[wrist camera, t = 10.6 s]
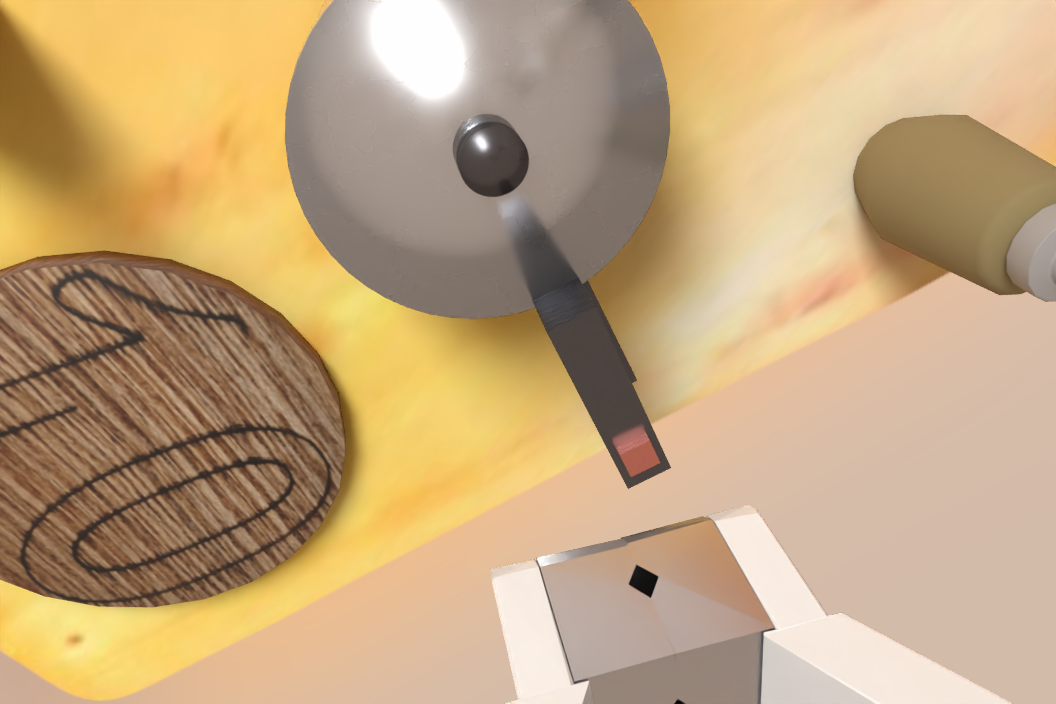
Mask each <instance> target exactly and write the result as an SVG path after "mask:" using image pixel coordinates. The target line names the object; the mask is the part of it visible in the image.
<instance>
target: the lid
mask: <svg viewBox="0 0 1056 704" xmlns="http://www.w3.org/2000/svg"><path fill="white" fill-rule="evenodd" d="M669 133H670V105H669V98H668V90H667V82H666V78H665V75H664V71H663V67H662V63H661V60H660V57H659V54H658V52H657V49H656V47H655V44H654V42H653V40H652V37H651V35H650V33H649V31H648V30H647V28H646V26H645V24H644V23H643V21H642V19H641V18H640V16H639V14H638V12H637V11H636V10H635V9H634V7H633V6H632V5H631V4H630V2H629V1H628V0H330V1H329V2H328V4H327V5H326V6H325V7H324V9H323V10H322V12H321V14H320V15H319V17H318V18H317V20H316V21H315V23H314V24H313V26H312V27H311V29H310V31H309V33H308V36H307V38H306V40H305V42H304V44H303V46H302V48H301V51H300V53H299V56H298V59H297V62H296V65H295V69H294V72H293V75H292V79H291V83H290V89H289V95H288V102H287V108H286V121H285V143H286V152H287V160H288V167H289V171H290V175H291V179H292V183H293V187H294V190H295V193H296V196H297V198H298V200H299V203H300V205H301V208H302V210H303V213H304V215H305V217H306V218H307V220H308V222H309V224H310V225H311V227H312V229H313V231H314V232H315V234H316V236H317V237H318V238H319V240H320V241H321V242H322V244H323V245H324V246H325V248H326V249H327V250H328V252H329V253H330V254H331V255H332V256H333V257H334V258H335V259H336V260H337V261H338V262H339V263H340V264H341V265H342V267H343V268H344V269H345V270H346V271H347V272H349V273H350V274H351V275H352V276H354V277H355V278H356V279H358V280H359V281H360V282H361V283H363V284H364V285H365V286H367V287H368V288H370V289H372V290H373V291H375V292H377V293H378V294H380V295H382V296H383V297H385V298H387V299H389V300H392V301H394V302H396V303H398V304H401V305H403V306H405V307H408V308H411V309H414V310H418V311H421V312H425V313H428V314H433V315H439V316H445V317H451V318H469V319H477V318H492V317H500V316H505V315H511V314H516V313H520V312H523V311H527V310H530V309H533V308H536V310H537V312H538V314H539V316H540V318H541V320H542V323H543V325H544V327H545V329H546V331H547V333H548V335H549V337H550V339H551V341H552V343H553V345H554V347H555V349H556V351H557V353H558V355H559V356H560V358H561V360H562V362H563V364H564V366H565V368H566V370H567V372H568V374H569V376H570V378H571V380H572V382H573V383H574V385H575V387H576V389H577V391H578V393H579V395H580V397H581V399H582V401H583V403H584V405H585V407H586V409H587V410H588V412H589V414H590V416H591V418H592V420H593V422H594V424H595V426H596V428H597V430H598V432H599V434H600V436H601V437H602V439H603V441H604V443H605V445H606V447H607V449H608V451H609V453H610V455H611V457H612V459H613V461H614V463H615V464H616V466H617V468H618V470H619V472H620V474H621V476H622V478H623V480H624V482H625V484H626V486H627V488H628V489H629V488H631V487H633V486H635V485H637V484H639V483H641V482H643V481H645V480H647V479H649V478H651V477H653V476H655V475H657V474H659V473H661V472H663V471H665V470H667V469H670V468H671V467H670V465H669V462H668V460H667V458H666V456H665V454H664V452H663V450H662V447H661V445H660V443H659V441H658V439H657V437H656V434H655V432H654V430H653V428H652V426H651V424H650V421H649V419H648V417H647V415H646V413H645V411H644V409H643V406H642V404H641V402H640V400H639V398H638V396H637V393H636V391H635V389H634V387H633V385H632V383H631V381H630V378H629V376H628V374H627V372H626V370H625V368H624V365H623V363H622V361H621V359H620V357H619V355H618V353H617V350H616V348H615V346H614V344H613V342H612V340H611V337H610V335H609V333H608V331H607V329H606V327H605V325H604V322H603V320H602V318H601V316H600V314H599V312H598V309H597V307H596V306H595V304H594V302H593V301H592V299H591V297H590V296H589V294H588V292H587V291H586V289H585V287H584V286H583V283H585V282H586V281H587V280H589V279H590V278H591V277H593V276H594V275H595V274H597V273H598V272H599V271H600V270H601V269H602V268H603V267H604V266H606V265H607V264H608V263H609V262H610V261H611V260H612V259H613V258H614V257H615V256H616V255H617V254H618V252H619V251H620V250H621V249H622V248H623V247H624V245H625V244H626V243H627V242H628V241H629V239H630V238H631V236H632V235H633V233H634V232H635V231H636V229H637V228H638V226H639V225H640V223H641V222H642V220H643V218H644V216H645V214H646V212H647V210H648V208H649V206H650V205H651V203H652V201H653V198H654V196H655V193H656V190H657V188H658V185H659V182H660V180H661V176H662V172H663V168H664V164H665V160H666V156H667V149H668V141H669Z"/></svg>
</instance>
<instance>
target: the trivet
mask: <svg viewBox="0 0 1056 704" xmlns="http://www.w3.org/2000/svg"><path fill="white" fill-rule="evenodd" d="M345 451H346V442H345V430H344V424H343V418H342V412H341V406H340V400H339V394H338V392H337V390H336V388H335V386H334V384H333V382H332V380H331V378H330V376H329V374H328V372H327V370H326V368H325V366H324V364H323V362H322V361H321V359H320V357H319V355H318V353H317V351H316V350H315V349H314V348H313V347H312V346H311V345H310V344H309V343H308V342H307V341H306V339H305V338H304V337H303V336H302V335H301V334H300V333H299V332H298V331H297V330H296V329H295V328H294V327H293V326H292V325H291V323H290V322H289V321H288V320H287V319H286V318H285V317H284V316H283V315H282V314H281V313H280V312H278V311H277V310H275V309H274V308H272V307H270V306H269V305H267V304H266V303H264V302H263V301H261V300H260V299H258V298H256V297H255V296H253V295H252V294H250V293H249V292H247V291H246V290H244V289H242V288H241V287H239V286H238V285H236V284H235V283H233V282H231V281H229V280H226V279H223V278H221V277H218V276H215V275H212V274H210V273H207V272H204V271H201V270H198V269H196V268H193V267H190V266H187V265H185V264H182V263H179V262H176V261H173V260H171V259H163V258H155V257H148V256H140V255H133V254H125V253H117V252H110V251H97V252H86V253H75V254H64V255H53V256H42V257H36V258H33V259H30V260H27V261H25V262H22V263H19V264H16V265H13V266H10V267H7V268H4V269H1V270H0V580H3V581H5V582H8V583H11V584H13V585H16V586H19V587H21V588H24V589H27V590H29V591H32V592H34V593H37V594H40V595H42V596H46V597H51V598H57V599H62V600H67V601H73V602H78V603H83V604H89V605H94V606H106V607H157V606H163V605H169V604H176V603H182V602H188V601H194V600H201V599H205V598H208V597H211V596H214V595H216V594H219V593H222V592H225V591H228V590H230V589H233V588H236V587H239V586H241V585H244V584H247V583H250V582H252V581H253V580H255V579H256V578H258V577H260V576H261V575H263V574H265V573H266V572H268V571H269V570H271V569H273V568H274V567H276V566H277V565H279V564H281V563H282V562H284V561H285V560H287V559H289V558H290V557H291V556H292V555H293V554H294V553H295V552H296V551H297V550H298V549H299V548H300V547H301V546H302V545H303V544H304V543H305V542H306V540H307V539H308V538H309V537H310V536H311V535H312V534H313V533H314V532H315V531H316V530H317V529H318V528H319V527H320V525H321V523H322V521H323V520H324V518H325V516H326V514H327V512H328V510H329V508H330V506H331V504H332V503H333V501H334V499H335V497H336V495H337V493H338V491H339V487H340V481H341V475H342V469H343V463H344V457H345Z"/></svg>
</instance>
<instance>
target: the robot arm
mask: <svg viewBox="0 0 1056 704" xmlns="http://www.w3.org/2000/svg"><path fill="white" fill-rule="evenodd" d="M491 578H492V585H493V589H494V594H495V598H496V602H497V607H498V611H499V616H500V620H501V625H502V629H503V634H504V638H505V643H506V647H507V652H508V656H509V660H510V665H511V669H512V674H513V678H514V683H515V687H516V691H517V696H518V699H517V700H513V701H510V702H507V703H504V704H1013V703H1011V702H1009V701H1007V700H1005V699H1003V698H1002V697H1000V696H998V695H996V694H994V693H992V692H990V691H988V690H987V689H985V688H983V687H981V686H979V685H977V684H975V683H973V682H971V681H969V680H968V679H966V678H964V677H962V676H960V675H958V674H957V673H955V672H953V671H951V670H949V669H947V668H945V667H943V666H941V665H940V664H938V663H936V662H934V661H932V660H930V659H928V658H927V657H925V656H923V655H921V654H919V653H917V652H915V651H913V650H912V649H910V648H908V647H906V646H904V645H902V644H900V643H898V642H897V641H895V640H893V639H891V638H889V637H887V636H885V635H883V634H882V633H880V632H878V631H876V630H874V629H872V628H870V627H868V626H867V625H865V624H863V623H861V622H859V621H857V620H855V619H853V618H852V617H850V616H848V615H846V614H844V613H842V612H841V613H836V614H832V615H828V614H827V613H826V611H825V610H824V609H823V607H822V606H821V604H820V602H819V601H818V600H817V598H816V597H815V595H814V593H813V592H812V591H811V589H810V588H809V586H808V585H807V583H806V582H805V580H804V579H803V577H802V576H801V574H800V573H799V571H798V570H797V568H796V567H795V565H794V564H793V562H792V561H791V559H790V558H789V556H788V555H787V554H786V552H785V550H784V549H783V547H782V546H781V544H780V543H779V541H778V540H777V539H776V537H775V536H774V534H773V533H772V531H771V530H770V528H769V527H768V525H767V524H766V522H765V521H764V519H763V518H762V516H761V515H760V513H759V512H758V510H757V509H755V508H753V507H752V506H751V505H745V506H742V507H738V508H734V509H730V510H726V511H722V512H718V513H714V514H711V515H708V516H706V517H703V516H702V517H698V518H694V519H691V520H687V521H683V522H679V523H675V524H672V525H668V526H664V527H661V528H656V529H653V530H649V531H645V532H642V533H638V534H634V535H630V536H626V537H622V538H621V539H618V540H614V541H609V542H605V543H600V544H596V545H592V546H587V547H583V548H578V549H574V550H569V551H565V552H561V553H556V554H552V555H548V556H543V557H539V558H536V561H535V559H533V560H529V561H524V562H520V563H516V564H511V565H507V566H503V567H499V568H494V569H491Z"/></svg>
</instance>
